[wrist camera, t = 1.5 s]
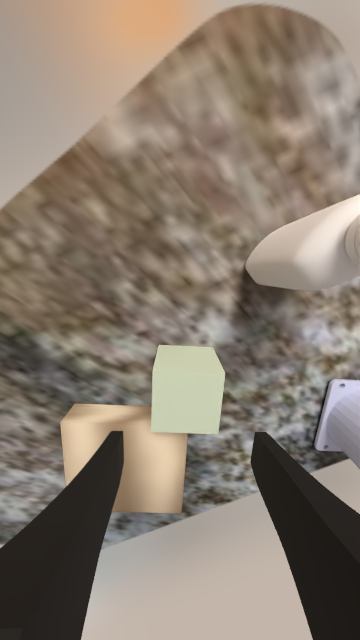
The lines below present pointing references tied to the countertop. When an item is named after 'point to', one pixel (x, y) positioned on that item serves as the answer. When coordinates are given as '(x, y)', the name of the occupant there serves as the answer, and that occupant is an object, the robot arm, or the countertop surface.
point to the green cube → (186, 390)
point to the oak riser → (129, 455)
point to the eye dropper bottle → (311, 250)
